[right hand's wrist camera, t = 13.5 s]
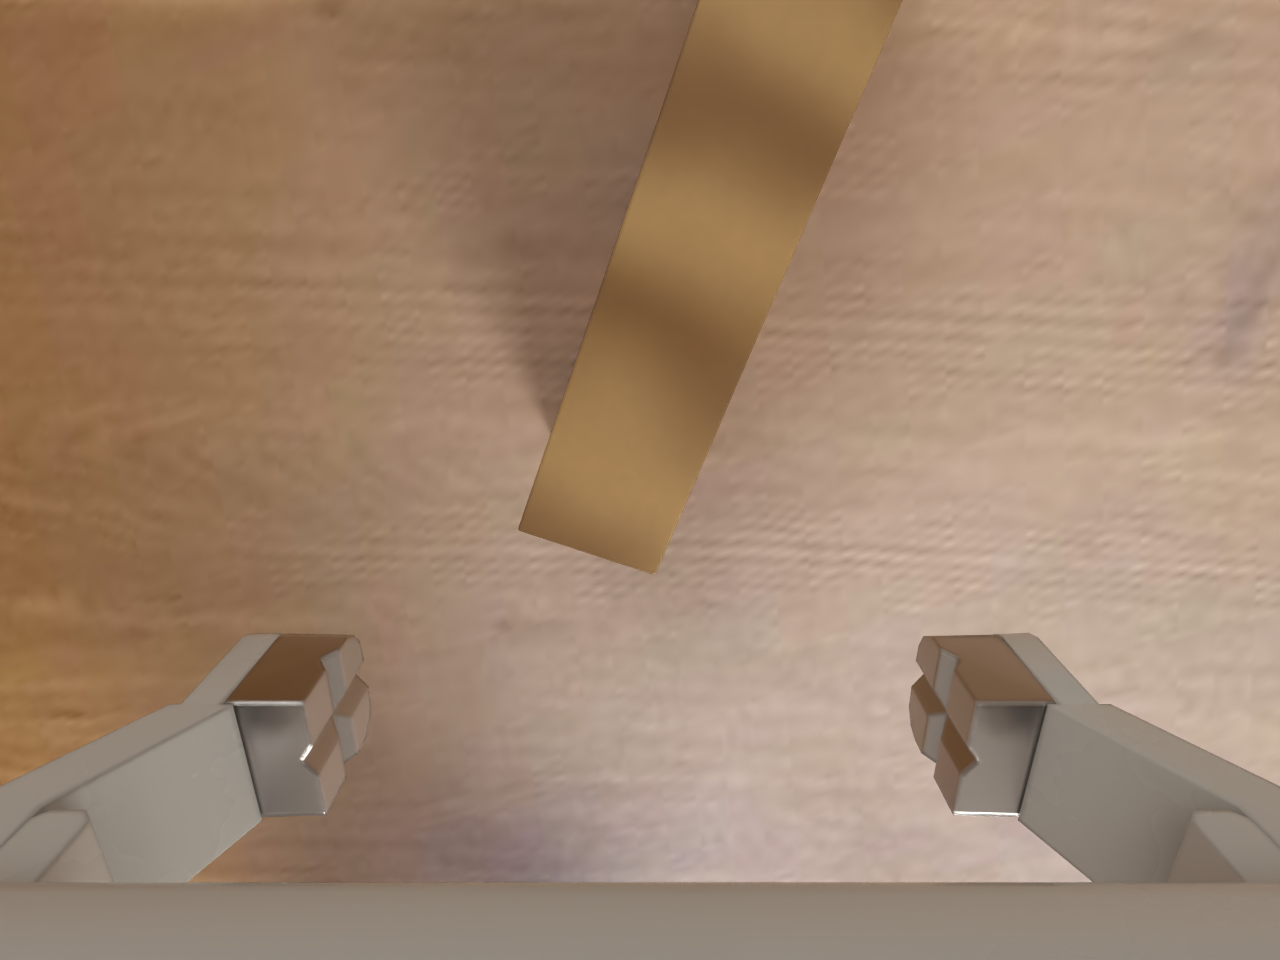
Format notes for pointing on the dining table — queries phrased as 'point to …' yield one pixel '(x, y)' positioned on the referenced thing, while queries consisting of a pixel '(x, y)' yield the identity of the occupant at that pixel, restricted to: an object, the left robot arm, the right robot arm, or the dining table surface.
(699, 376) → the bar
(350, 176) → the dining table surface
